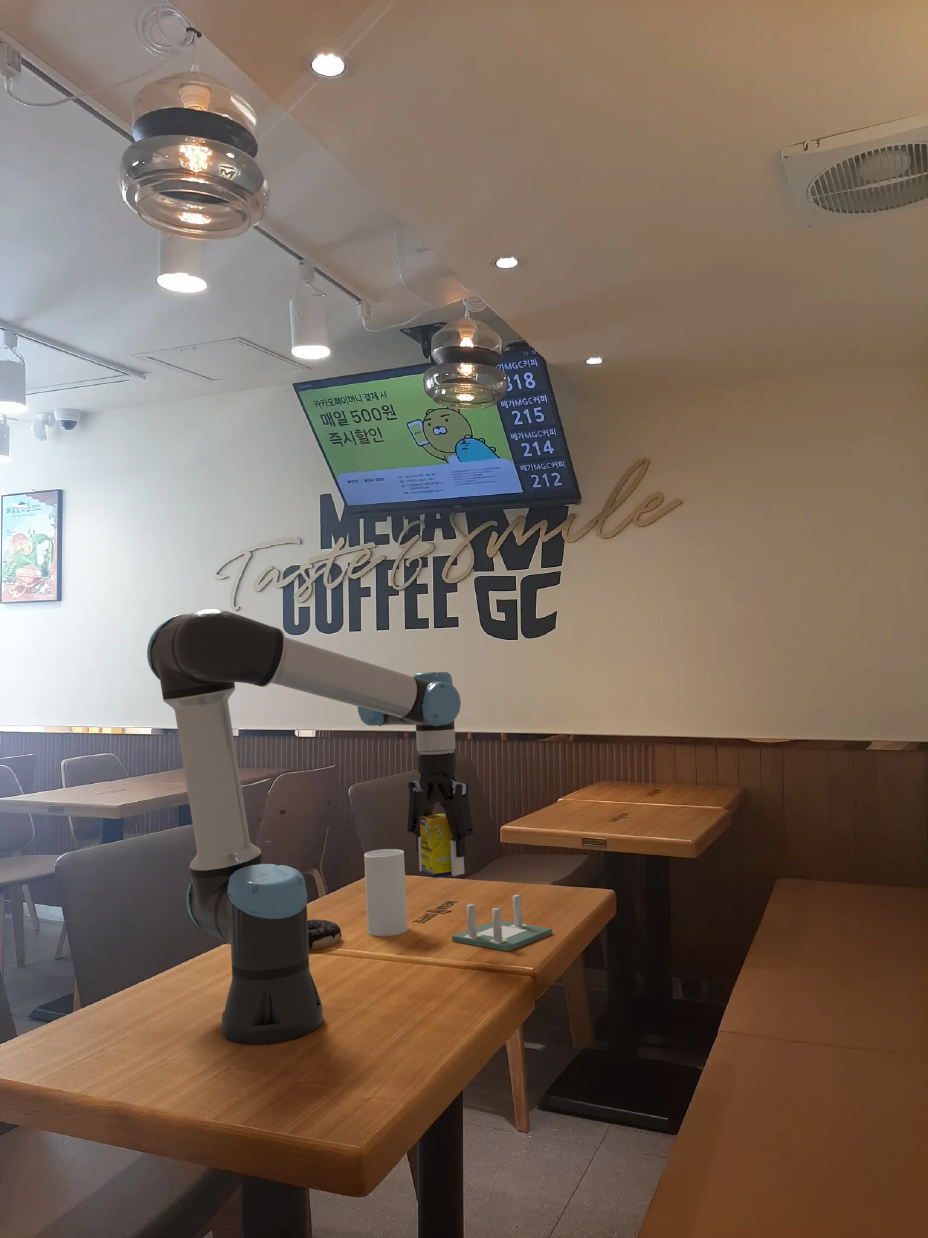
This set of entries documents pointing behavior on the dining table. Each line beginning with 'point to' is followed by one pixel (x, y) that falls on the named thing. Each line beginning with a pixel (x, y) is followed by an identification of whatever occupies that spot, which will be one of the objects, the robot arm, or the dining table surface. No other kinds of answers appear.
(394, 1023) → the dining table surface
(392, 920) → the cup
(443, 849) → the supplement box
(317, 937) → the donut
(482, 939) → the header board
